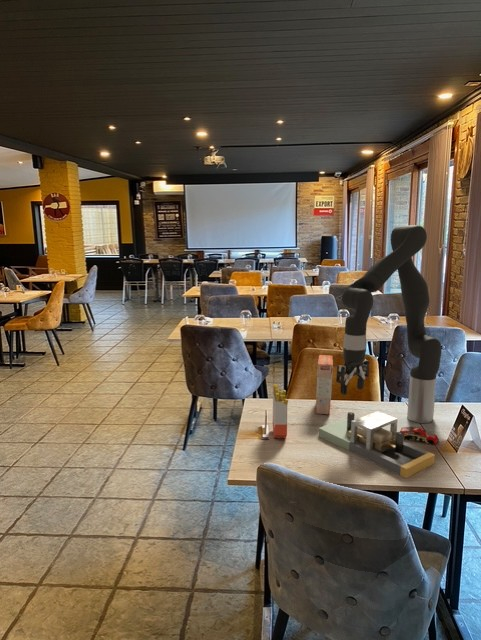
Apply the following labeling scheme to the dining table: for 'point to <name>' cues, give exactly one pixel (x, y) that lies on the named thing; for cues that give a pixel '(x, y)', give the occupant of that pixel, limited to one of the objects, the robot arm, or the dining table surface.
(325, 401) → the cracker box
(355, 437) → the steel tunnel
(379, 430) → the ash block
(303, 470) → the dining table surface
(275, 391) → the french fries container
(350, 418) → the sled frame
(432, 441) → the race car
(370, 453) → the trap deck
